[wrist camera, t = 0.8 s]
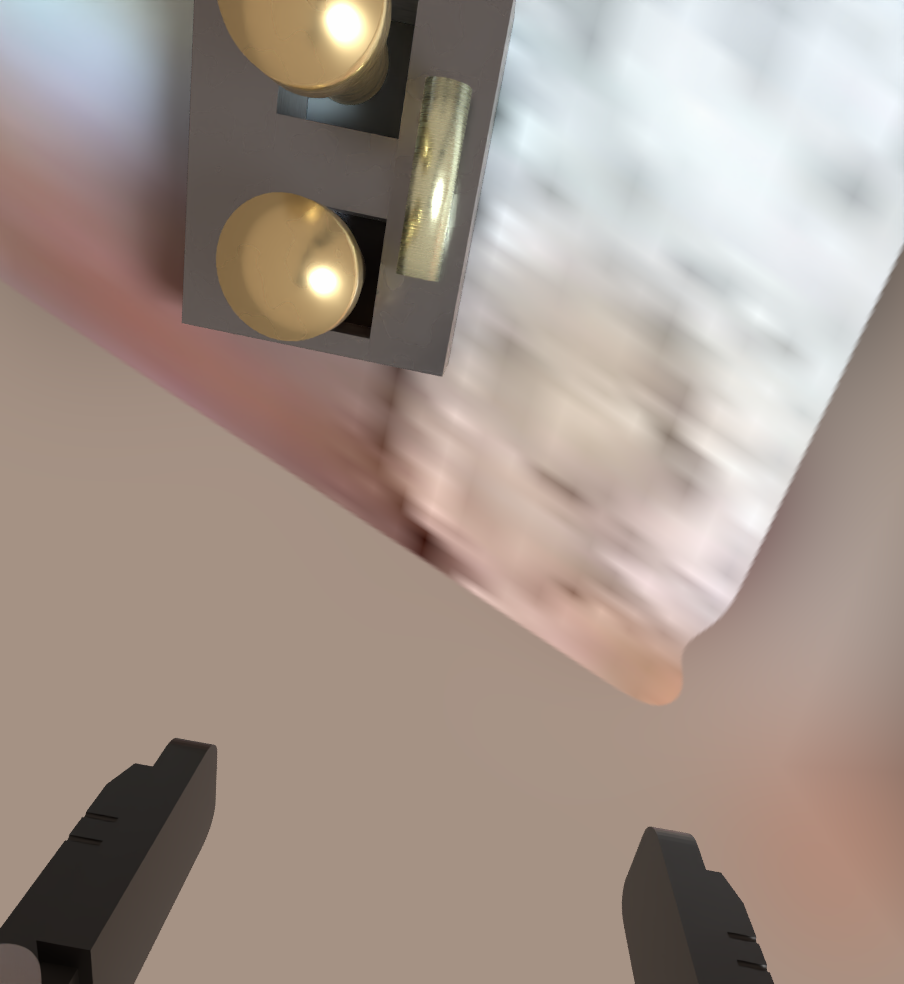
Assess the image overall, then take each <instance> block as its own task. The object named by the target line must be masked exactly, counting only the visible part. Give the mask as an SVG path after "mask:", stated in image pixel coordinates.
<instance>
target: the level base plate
mask: <svg viewBox="0 0 904 984" xmlns="http://www.w3.org/2000/svg"><path fill="white" fill-rule="evenodd" d="M515 2H516V0H391V20H392V21H397V22H402V23H406V24H411V25H415V28H414V35H413V42H412V49H411V56H410V63H409V70H408V76H407V83H406V90H405V97H404V104H403V111H402V118H401V125H400V132H399V139H396V138H391V137H386V136H381V135H377V134H372V133H367V132H362V131H358V130H353V129H348V128H343V127H339V126H334V125H329V124H324V123H319V122H315V121H310V120H306V115H307V105H308V97H304V96H301V95H298V94H294V93H292V92H290V91H288V90H286V89H284V88H283V87H281V86H279V85H278V84H276V83H275V82H274V81H273V80H272V79H270V78H269V77H268V76H267V75H266V74H264V73H263V72H262V71H261V70H260V69H258V68H257V67H256V66H255V65H254V64H253V63H251V62H250V61H249V60H248V58H247V57H246V56H245V55H244V54H243V53H242V52H241V50H240V49H239V48H238V46H237V45H236V44H235V42H234V41H233V39H232V37H231V35H230V34H229V32H228V30H227V27H226V25H225V23H224V21H223V18H222V15H221V12H220V9H219V5H218V0H194V19H193V45H192V71H191V97H190V124H189V150H188V176H187V202H186V228H185V255H184V281H183V307H182V323H184V324H189V325H194V326H199V327H204V328H209V329H214V330H218V331H223V332H228V333H233V334H238V335H243V336H247V337H252V338H257V339H262V340H267V341H272V342H277V343H281V344H286V345H291V346H296V347H301V348H306V349H311V350H315V351H320V352H325V353H330V354H335V355H340V356H344V357H349V358H354V359H359V360H364V361H369V362H374V363H378V364H383V365H388V366H393V367H398V368H403V369H408V370H412V371H417V372H422V373H427V374H432V375H437V376H441V377H442V376H443V374H444V372H445V370H446V367H447V365H448V362H449V357H450V351H451V346H452V341H453V336H454V330H455V325H456V320H457V315H458V309H459V304H460V299H461V294H462V288H463V283H464V278H465V273H466V267H467V262H468V257H469V252H470V246H471V241H472V236H473V231H474V225H475V220H476V215H477V210H478V204H479V199H480V194H481V189H482V183H483V178H484V173H485V168H486V163H487V157H488V152H489V147H490V142H491V136H492V131H493V126H494V121H495V115H496V110H497V105H498V100H499V94H500V89H501V84H502V79H503V73H504V68H505V63H506V58H507V52H508V47H509V42H510V37H511V31H512V26H513V21H514V13H515ZM272 192H285V193H292V194H296V195H299V196H302V197H305V198H308V199H310V200H313V201H316V202H318V203H320V204H322V205H324V206H326V207H327V208H329V209H331V210H332V211H335V212H340V213H345V214H349V215H354V216H359V217H364V218H369V219H373V220H378V221H383V222H386V229H385V236H384V243H383V250H382V257H381V264H380V271H379V278H378V285H377V292H376V299H375V306H374V313H373V320H372V327H366V326H361V325H357V324H352V323H347V322H342V323H341V324H339V325H338V326H337V327H335V328H334V329H332V330H330V331H328V332H326V333H323V334H321V335H318V336H316V337H313V338H310V339H306V340H301V341H282V340H277V339H273V338H270V337H267V336H265V335H262V334H260V333H259V332H257V331H255V330H253V329H252V328H251V327H249V326H248V325H247V324H246V323H244V322H243V321H242V320H241V319H240V318H239V317H238V316H237V314H236V313H235V312H234V311H233V309H232V308H231V306H230V305H229V303H228V302H227V300H226V298H225V296H224V294H223V292H222V289H221V286H220V283H219V279H218V275H217V268H216V252H217V245H218V241H219V237H220V234H221V232H222V229H223V227H224V225H225V223H226V222H227V220H228V219H229V217H230V216H231V215H232V213H233V212H234V211H235V210H236V209H237V208H238V207H239V206H241V205H242V204H243V203H245V202H246V201H248V200H250V199H252V198H254V197H256V196H259V195H262V194H266V193H272Z"/></svg>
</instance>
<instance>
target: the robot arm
mask: <svg viewBox="0 0 904 984" xmlns="http://www.w3.org/2000/svg"><path fill="white" fill-rule="evenodd" d="M216 769H217V748H216V746H215V745H212V744H206V743H201V742H195V741H190V740H184V739H179V738H174V739H173V740H171V742H170V743H169V744H168V745H167V746H166V748H165V749H164V751H163V752H162V754H161V755H160V757H159V758H158V760H157V761H156V763H155V764H154V766H153V767H152V766H147V765H141V764H133V765H132V766H131V767H130V768H128V769H127V770H125V771H124V772H123V773H121V774H120V775H119V776H117V777H116V778H115V779H113V780H112V781H111V782H109V783H108V784H107V785H106V786H105V787H104V788H103V790H102V791H101V793H100V794H99V795H98V797H97V798H96V799H95V801H94V802H93V803H92V805H91V806H90V807H89V809H88V810H87V812H86V815H85V817H82V818H81V820H80V821H79V822H78V824H77V825H76V826H75V828H74V829H73V830H72V832H71V833H70V835H69V838H68V840H67V841H64V843H63V844H62V845H61V847H60V848H59V849H58V851H57V852H56V854H55V855H54V856H53V858H52V859H51V860H50V862H49V863H48V864H47V866H46V867H45V869H44V870H43V871H42V873H41V874H40V875H39V877H38V878H37V879H36V881H35V882H34V883H33V885H32V886H31V887H30V889H29V890H28V892H27V893H26V894H25V896H24V897H23V898H22V900H21V901H20V902H19V904H18V905H17V906H16V908H15V909H14V910H13V912H12V913H11V915H10V916H9V917H8V919H7V920H6V921H5V923H4V924H3V925H2V927H1V928H0V984H134V982H135V980H136V978H137V976H138V974H139V972H140V970H141V968H142V966H143V964H144V962H145V960H146V958H147V956H148V954H149V952H150V950H151V948H152V946H153V944H154V942H155V940H156V938H157V936H158V934H159V932H160V930H161V928H162V926H163V924H164V922H165V920H166V918H167V916H168V914H169V912H170V910H171V908H172V906H173V904H174V902H175V900H176V898H177V896H178V894H179V892H180V890H181V888H182V886H183V884H184V882H185V880H186V878H187V876H188V874H189V872H190V870H191V868H192V866H193V864H194V862H195V860H196V858H197V856H198V854H199V852H200V850H201V848H202V846H203V844H204V842H205V839H206V837H207V834H208V832H209V829H210V826H211V823H212V819H213V815H214V810H215V799H216V798H215V797H216V771H217V770H216ZM622 915H623V922H624V928H625V933H626V939H627V943H628V949H629V954H630V960H631V965H632V970H633V975H634V980H635V984H774V982H773V980H772V977H771V975H770V973H769V972H767V964H766V961H765V959H764V956H763V954H762V951H761V948H760V946H759V944H757V943H756V935H755V933H754V930H753V927H752V925H751V922H750V919H749V917H748V914H747V912H746V909H745V907H744V904H743V902H742V901H741V899H740V898H739V897H738V895H737V894H736V893H735V891H734V890H733V888H732V887H731V886H730V884H729V883H728V882H727V880H726V879H725V878H724V876H723V875H722V873H719V872H714V871H709V870H706V869H705V866H704V863H703V860H702V857H701V854H700V851H699V848H698V845H697V843H696V841H695V839H694V837H693V836H692V835H691V834H688V833H683V832H677V831H672V830H666V829H660V828H655V827H648V828H647V829H646V830H645V832H644V834H643V837H642V839H641V842H640V844H639V847H638V849H637V852H636V855H635V857H634V860H633V863H632V865H631V867H630V870H629V872H628V875H627V877H626V880H625V884H624V889H623V896H622Z"/></svg>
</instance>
